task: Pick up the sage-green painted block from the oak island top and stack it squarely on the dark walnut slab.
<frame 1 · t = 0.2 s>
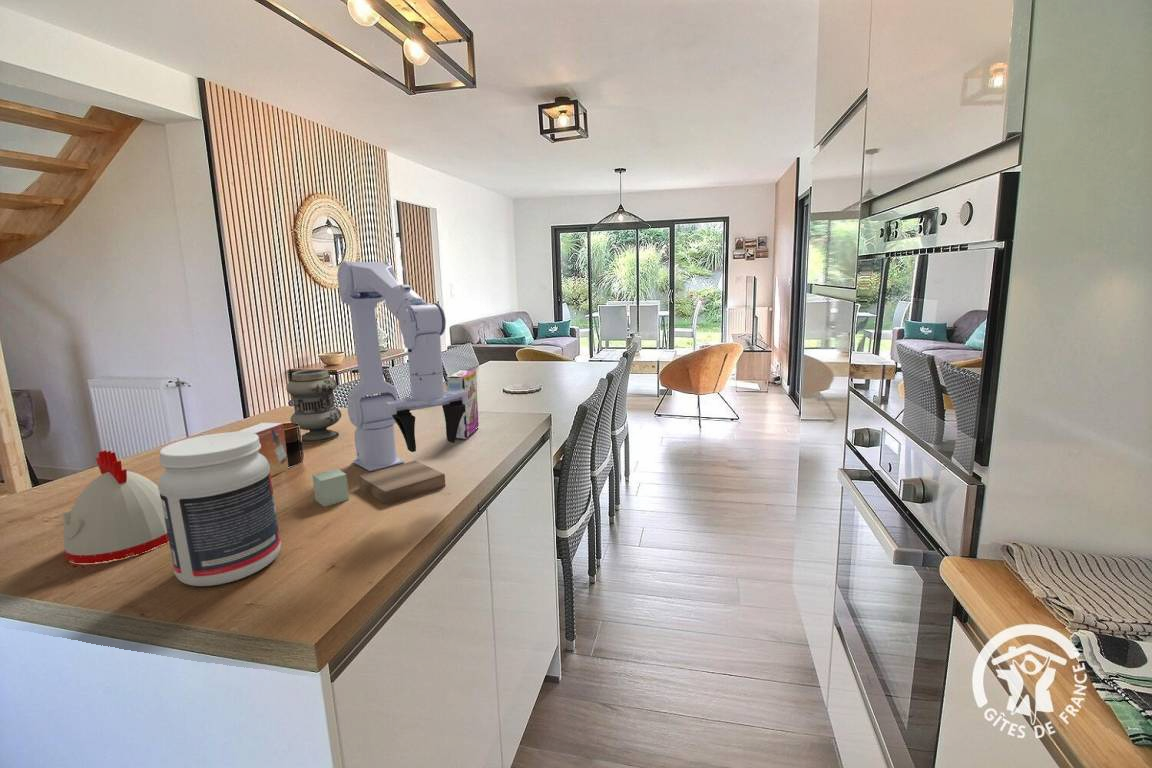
hand: (432, 446, 96), 10 cm above the counter, tool pointing down, fingers open, 7 cm apart
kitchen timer: (127, 544, 83), on the counter
small box: (265, 475, 112), on the counter
sage block: (332, 499, 98), on the counter
candy bar box: (465, 434, 139), on the counter
walnut slab: (402, 489, 103), on the counter
supplement tub: (231, 567, 75), on the counter
ornate stone vase: (318, 438, 139), on the counter
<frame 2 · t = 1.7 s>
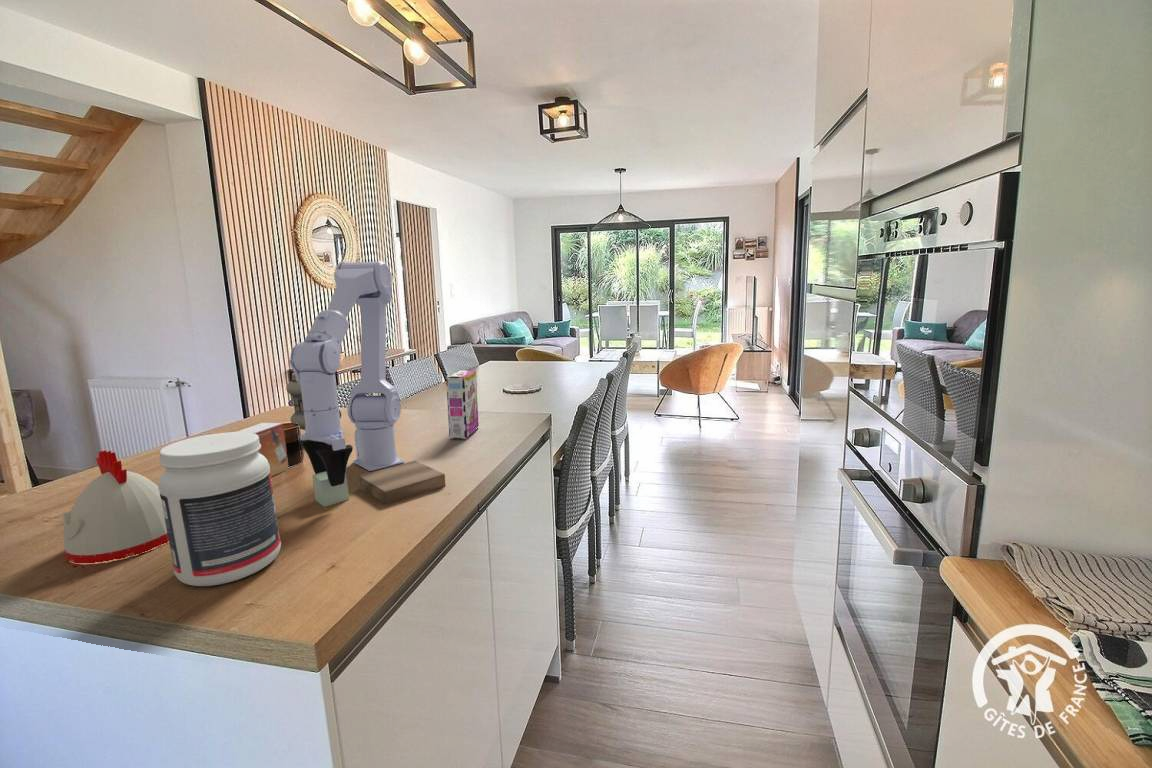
hand: (329, 479, 97), 4 cm above the counter, tool pointing down, fingers open, 7 cm apart
nothing on the counter moved.
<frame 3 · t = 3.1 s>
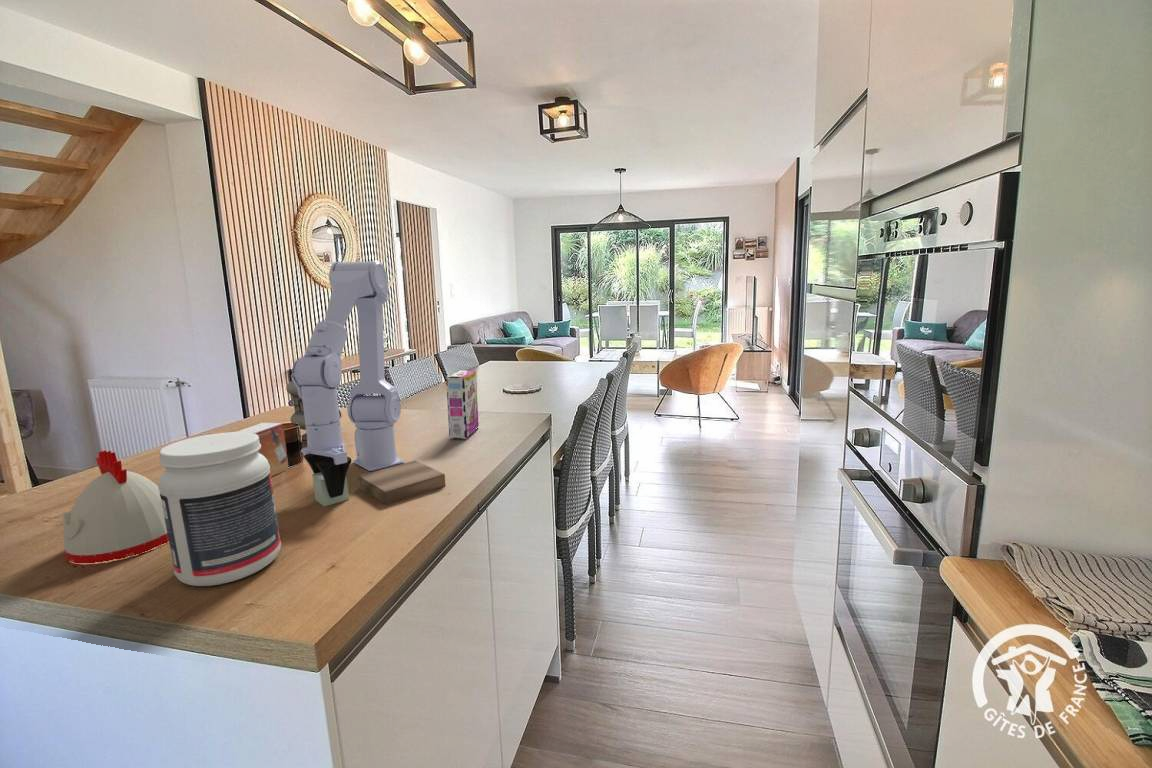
hand: (331, 492, 98), 1 cm above the counter, tool pointing down, fingers closed on sage block, 4 cm apart
sage block: (332, 499, 98), on the counter, touching gripper
everything else where it was.
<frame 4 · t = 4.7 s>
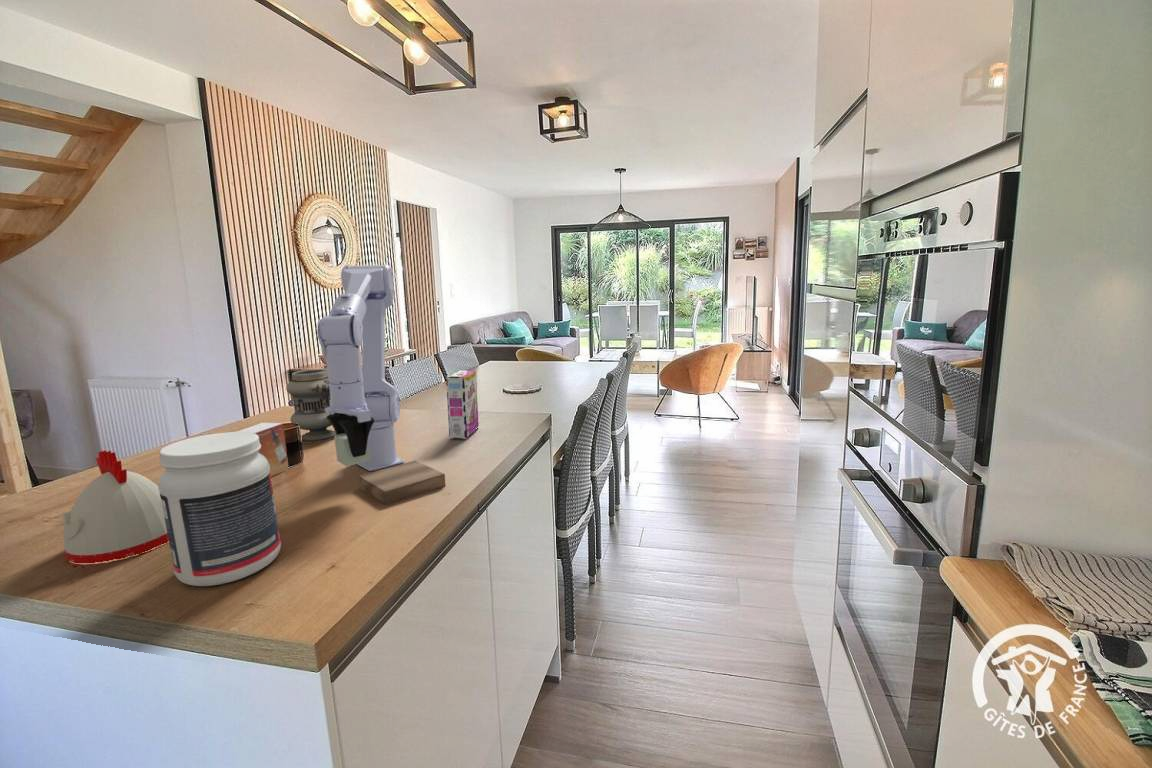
hand: (353, 452, 98), 8 cm above the counter, tool pointing down, fingers closed on sage block, 4 cm apart
sage block: (353, 460, 99), point 7 cm above the counter, touching gripper
everything else where it was.
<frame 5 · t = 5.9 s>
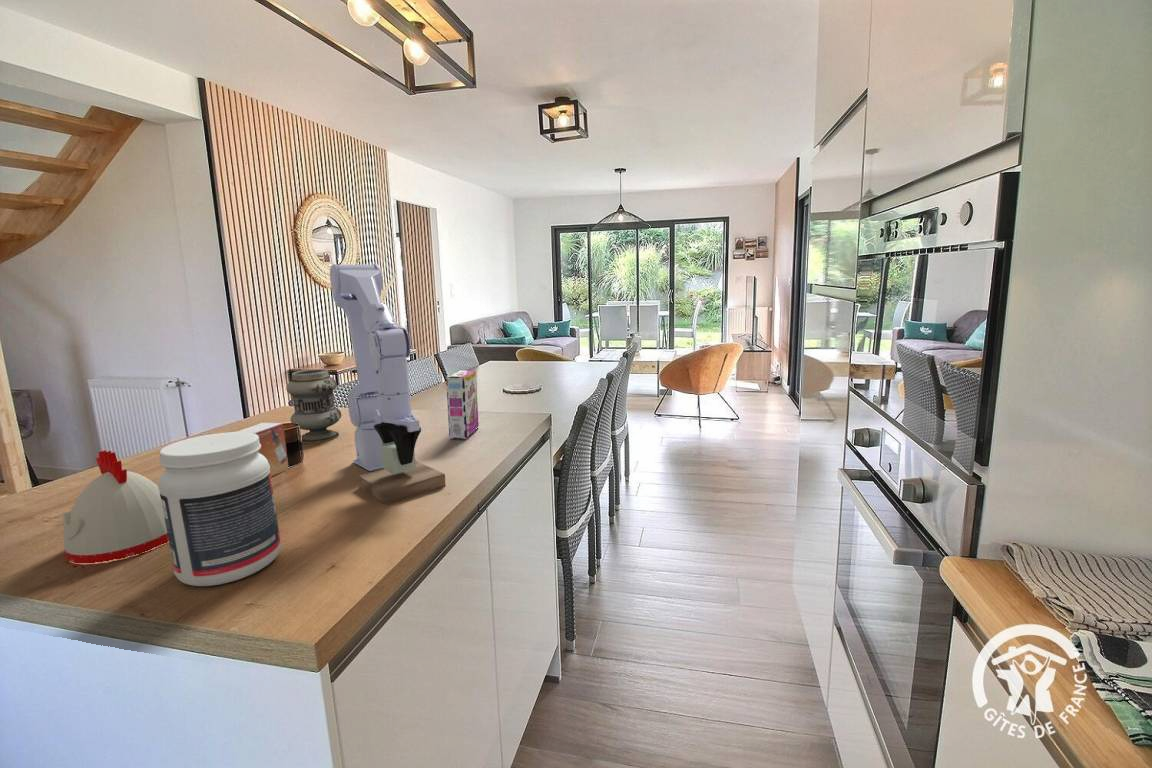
hand: (400, 460, 102), 5 cm above the counter, tool pointing down, fingers closed on sage block, 4 cm apart
sage block: (399, 468, 102), point 4 cm above the counter, touching gripper
everything else where it was.
when the fingers open (5 cm above the counter, at t = 6.6 s): sage block drops 1 cm, point 2 cm above the counter.
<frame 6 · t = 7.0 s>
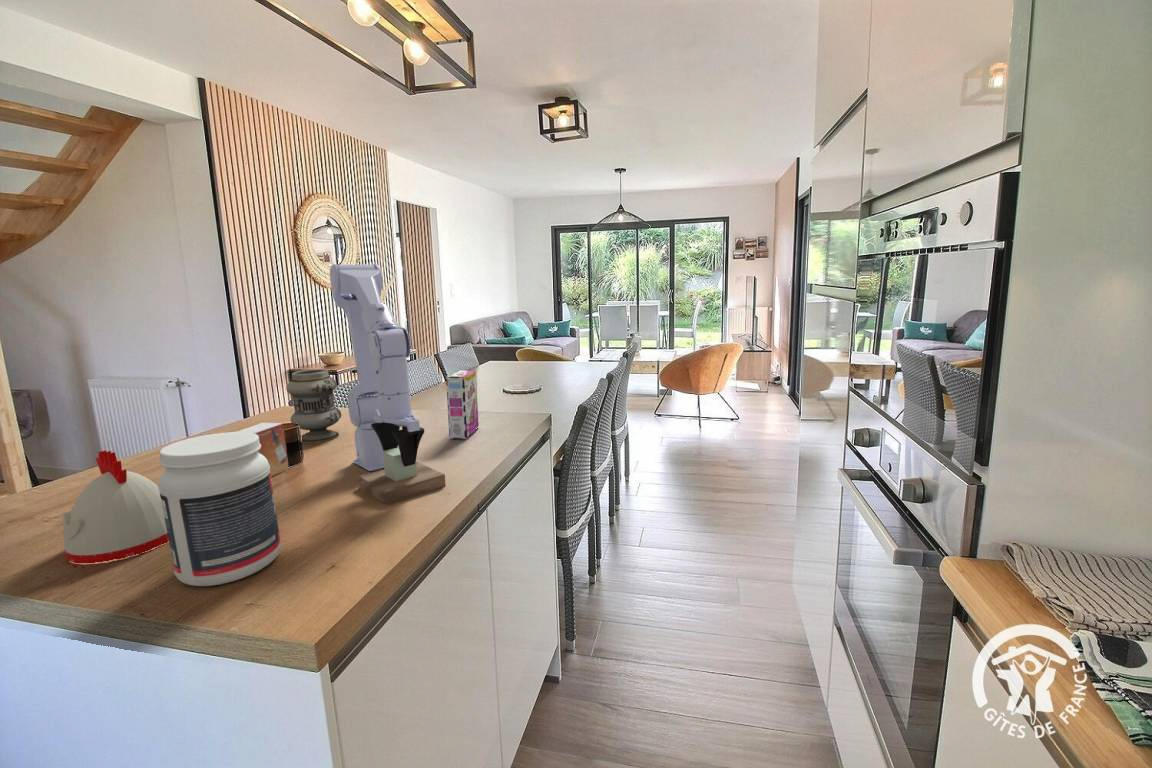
hand: (400, 460, 102), 5 cm above the counter, tool pointing down, fingers open, 7 cm apart
sage block: (401, 475, 103), point 2 cm above the counter
everything else where it was.
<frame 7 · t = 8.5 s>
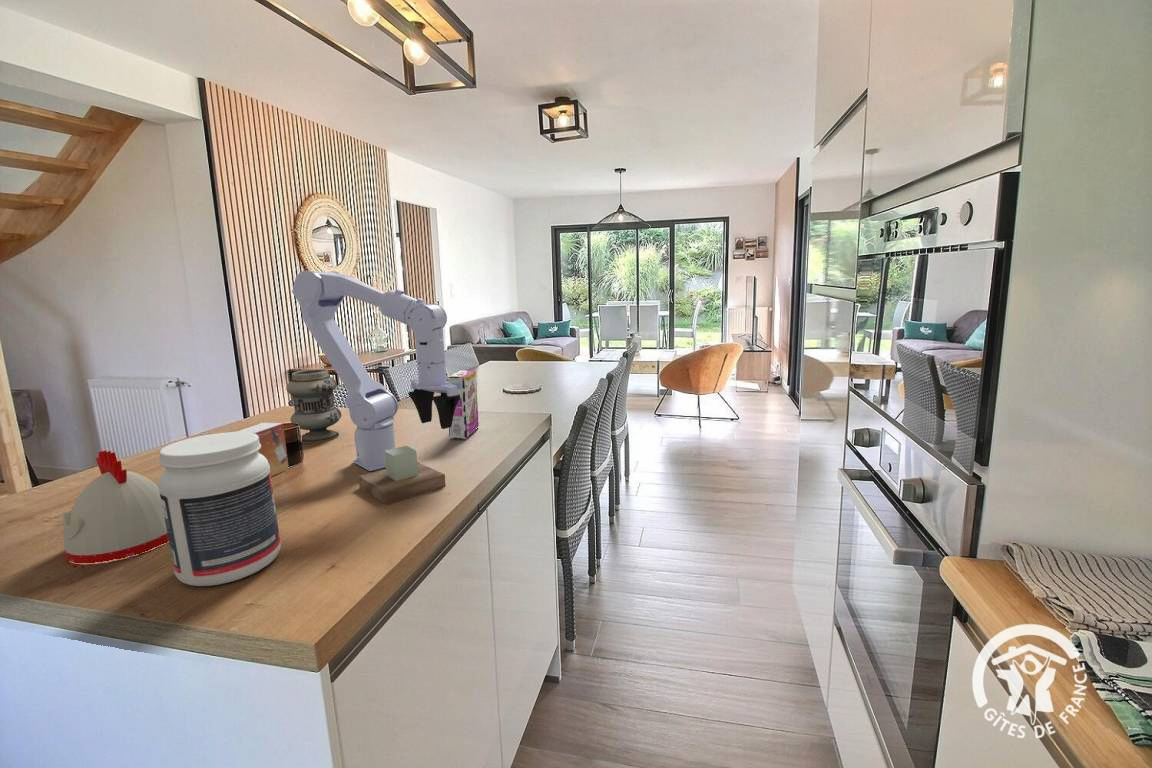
hand: (436, 424, 113), 9 cm above the counter, tool pointing down, fingers open, 7 cm apart
nothing on the counter moved.
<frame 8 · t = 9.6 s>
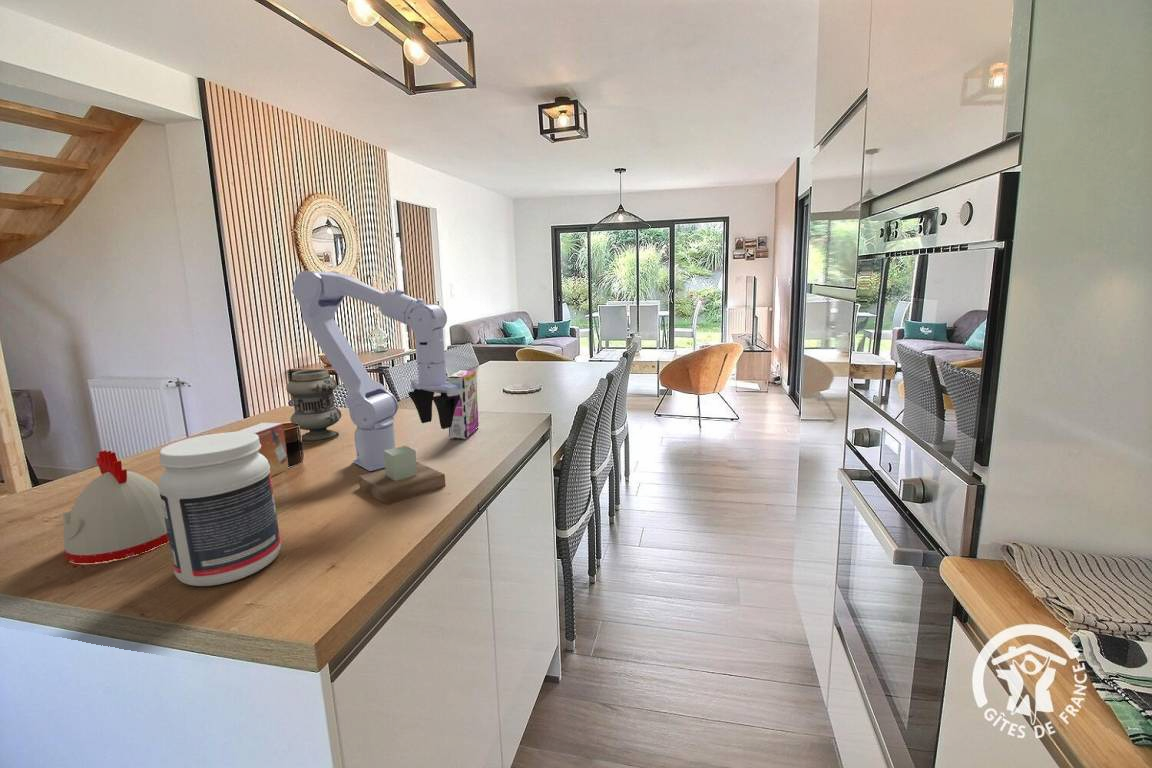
hand: (436, 424, 113), 9 cm above the counter, tool pointing down, fingers open, 7 cm apart
nothing on the counter moved.
at the end: sage block 0.1 cm off-centre on the walnut slab, point 3.0 cm above the walnut slab's base; sage block tilted 0°; the gripper is holding nothing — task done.
